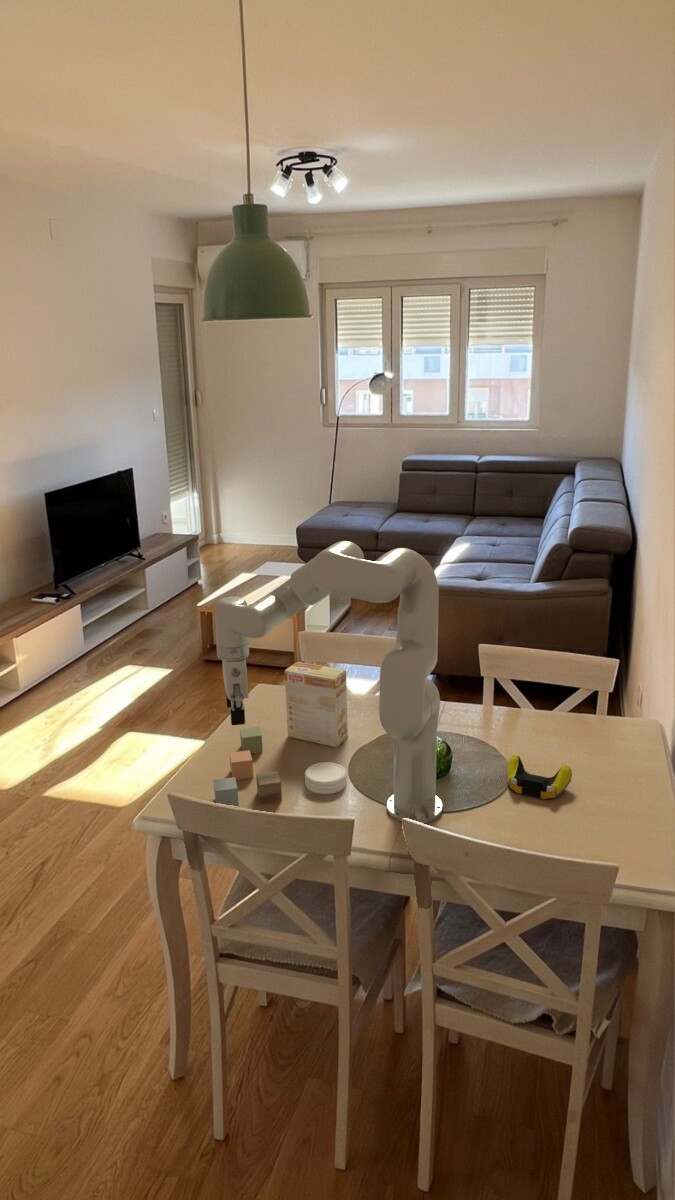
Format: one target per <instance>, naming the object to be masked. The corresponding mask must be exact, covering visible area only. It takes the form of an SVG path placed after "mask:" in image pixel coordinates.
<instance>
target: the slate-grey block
mask: <svg viewBox="0 0 675 1200" xmlns="http://www.w3.org/2000/svg"><path fill="white" fill-rule="evenodd" d="M213 790H214V791H213V792H214V801H215V804H216V803H221V804H226V805H234V806H239V807H240V805H239V792H238V791H239V790H238V784H237V780H236V779H235V777H232V776H231V777H226V778H225V777H224V778H218V779H213Z"/></svg>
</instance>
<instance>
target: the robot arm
mask: <svg viewBox="0 0 675 1200" xmlns="http://www.w3.org/2000/svg"><path fill="white" fill-rule="evenodd" d="M438 583H439V582H438V580H437V576H436V573H435V571H434V569H433V567H432V565H431V564H430V562H429V561H428V560H427V559H425V557H424V556H422V555H421V554H420V553H418V552H417V551H415V550H413V549H410V548H406V547H397V548H394V549H391V550H389V551H387V552H385V553H384V554H382V555H381V556H380V557H378V558H377V559H375V560H374V561H372V560H367V559H365V555H364V552H363V550H362V548H360V546H359V545H357V544H356V543H355V542H352V541H349V540H348V541H347V540H341V541H338V542H335V543H333V544H331V545H330V546H328V547H326V548H325V549H323V550H322V551H320V552H319V553H317V554H316V555H315V557H313V558H312V559H310V560H309V561H308V562H306V563H304V564H303V565H302V566H299V568H297V569H296V570H294V571H293V572H291V574H290V578H289V579H287V580H286V581H284V582H283V583H282V584H280V585H279V586H277V587H276V588H275V589H273V590H271V592H269V593H267V594H265V595H264V596H263V597H261V598H259V599H258V600H256V601H254V602H253V603H249V604H248V603H247V601H246V600H245V599H244V598H243V597H241V596H235V595H231V596H230V595H229V596H223V597H220V598H219V599H217V600H216V602H215V603H214V624H215V625H214V626H215V641H216V642H215V644H216V656H217V658H218V659H219V660H221V661H222V674H223V676H222V677H223V683H224V684H223V685H224V688H225V692H226V693H225V694H226V707H227V708H231V709H230V720H231V721H230V723H231V726H242V725H245V723H246V713H245V706H244V699H246V700H247V699H248V698H249V690H248V689H249V688H248V673H247V672H248V671H247V662H246V661H247V660H246V659H247V658H248V657H249V655H250V642H249V641H250V640H249V639H261V638H262V637H263V638H264V636H266V635H267V634H269V633H270V632H272V631H273V630H275V629H276V628H277V627H279V626H281V624H283V623H284V622H286V621H287V620H288V619H290V618H291V617H293V616H294V615H296V614H297V613H298V612H301V611H303V609H305V608H306V607H308V606H314V605H316V604H318V603H319V602H321V601H322V600H323V599H325V598H327V597H328V596H330V595H331V594H334V595H338V596H343V597H347V598H350V599H351V598H352V599H356V600H361V601H366V602H370V603H375V604H383V603H385V604H386V603H389V602H392V601H393V600H396V599H397V598H398V597H399V603H398V609H397V630H396V631H397V632H396V640H395V642H394V644H393V646H392V647H391V648H390V649H389V650H388V651H387V653H386V654H385V655H384V657H383V659H382V662H381V665H380V670H379V699H378V700H379V702H378V703H379V704H378V705H379V706H378V708H379V709H378V712H379V720H380V724H381V726H382V728H383V730H384V731H385V733H386V734H387V735H388V736H390V737H391V738H393V740H392V742H393V746H392V747H393V748H392V749H393V751H392V752H393V753H392V754H393V755H392V756H393V758H392V760H393V761H392V762H393V765H392V766H393V767H392V769H393V770H392V771H393V772H392V773H393V777H392V778H393V780H392V781H393V784H392V785H393V791H392V792H393V794H392V795H391V796H390V797H389V798H388V799H387V801H386V811H387V813H388V814H389V815H390V816H391V817H392V818H394V819H395V820H397V821H399V822H402V821H401V820H402V818H409V819H412V820H416V821H419V822H422V823H425V824H426V823H430V822H432V821H434V820H436V819H437V818H439V817H440V816H441V815H442V812H443V810H444V809H443V801H442V800H441V799H440V798H439V797H438V796H437V795H436V794H437V750H438V746H437V745H438V726H439V719H440V717H439V716H440V709H441V707H440V706H441V699H440V698H441V696H440V693H439V690H438V688H437V686H436V684H435V683H434V682H433V681H432V680H430V679H429V678H428V677H429V676H430V675H431V673H432V672H433V670H434V669H435V667H436V665H437V662H438V646H439V645H438V641H439V640H438V639H439V604H440V603H439V601H440V600H439V599H440V596H439V592H440V591H439V584H438Z"/></svg>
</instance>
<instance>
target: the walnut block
mask: <svg viewBox="0 0 675 1200" xmlns="http://www.w3.org/2000/svg"><path fill="white" fill-rule="evenodd" d="M255 776H256V788H257V789H256V791H257V796H258V799H259V804H266V803H267V804H268V803H275V802H281V801H283V800H282V799H283V796H282V781H281V778H280V774H279V772H278V771H277V770H275V771H268V772H262V773H261V772H260V773H256V775H255Z"/></svg>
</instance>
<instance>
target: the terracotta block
mask: <svg viewBox="0 0 675 1200" xmlns="http://www.w3.org/2000/svg"><path fill="white" fill-rule="evenodd" d="M229 764H230V772H231V773H232V774H231V778H232V777H235V779H236V781H239V780H246V779H253V778H254V767H253V758H252V754H251V753H250V750H247V751H242V750H240V751H234V752H229Z"/></svg>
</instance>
